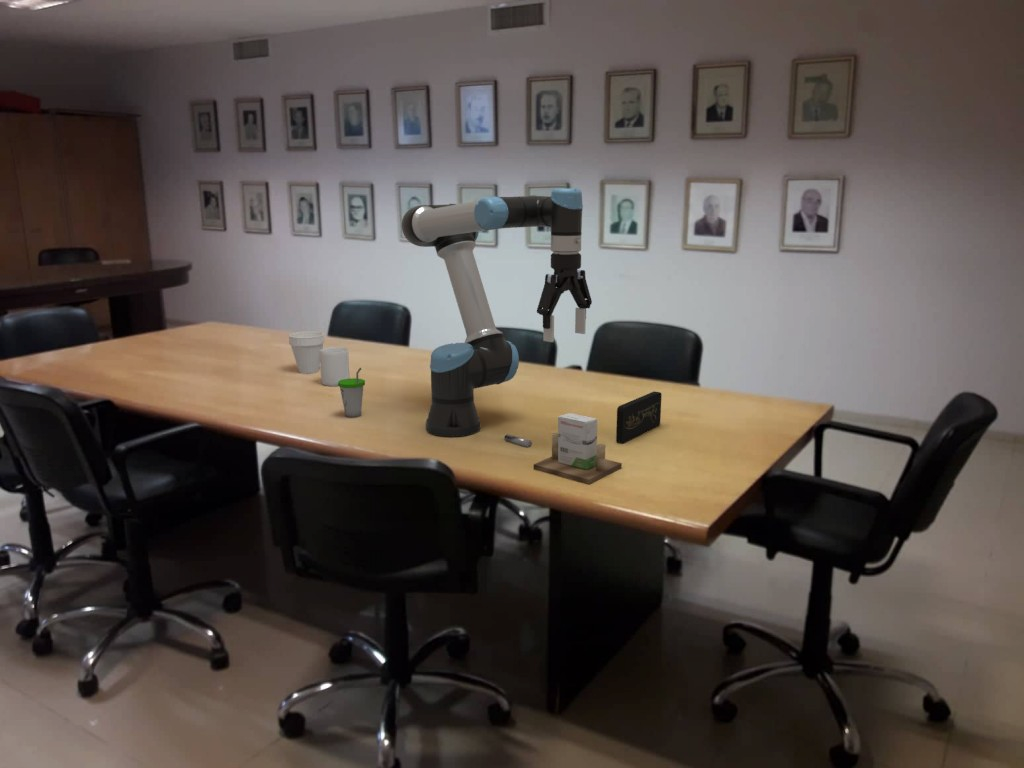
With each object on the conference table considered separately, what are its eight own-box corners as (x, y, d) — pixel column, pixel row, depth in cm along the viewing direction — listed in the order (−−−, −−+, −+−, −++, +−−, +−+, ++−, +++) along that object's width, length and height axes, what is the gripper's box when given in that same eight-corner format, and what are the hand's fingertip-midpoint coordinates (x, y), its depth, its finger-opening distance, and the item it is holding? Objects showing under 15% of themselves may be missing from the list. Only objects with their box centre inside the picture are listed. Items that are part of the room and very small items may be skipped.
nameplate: (654, 424, 230) (655, 390, 228) (660, 425, 229) (661, 391, 226) (615, 443, 214) (617, 406, 212) (622, 444, 213) (623, 408, 210)
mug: (337, 388, 270) (335, 353, 267) (309, 383, 276) (307, 350, 273) (355, 381, 278) (353, 348, 275) (328, 378, 284) (326, 345, 281)
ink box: (597, 465, 194) (599, 417, 191) (585, 470, 190) (586, 422, 187) (568, 457, 199) (569, 411, 196) (556, 462, 196) (557, 415, 193)
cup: (337, 413, 241) (334, 364, 237) (364, 410, 244) (361, 361, 240) (342, 420, 234) (339, 369, 230) (369, 417, 237) (366, 367, 233)
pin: (505, 442, 216) (503, 436, 215) (510, 438, 217) (508, 432, 216) (527, 449, 211) (525, 442, 210) (532, 445, 212) (530, 438, 211)
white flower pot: (288, 369, 296) (285, 332, 292) (322, 366, 301) (320, 330, 297) (294, 376, 285) (292, 338, 282) (329, 373, 290) (327, 335, 287)
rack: (533, 468, 195) (533, 440, 193) (567, 454, 205) (567, 426, 204) (588, 484, 185) (589, 454, 183) (621, 467, 196) (622, 439, 194)
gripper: (547, 257, 188) (546, 346, 193) (606, 249, 207) (604, 331, 212) (522, 255, 193) (522, 342, 198) (582, 248, 211) (580, 328, 217)
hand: (564, 337), depth 205 cm, fingers open, 13 cm apart
